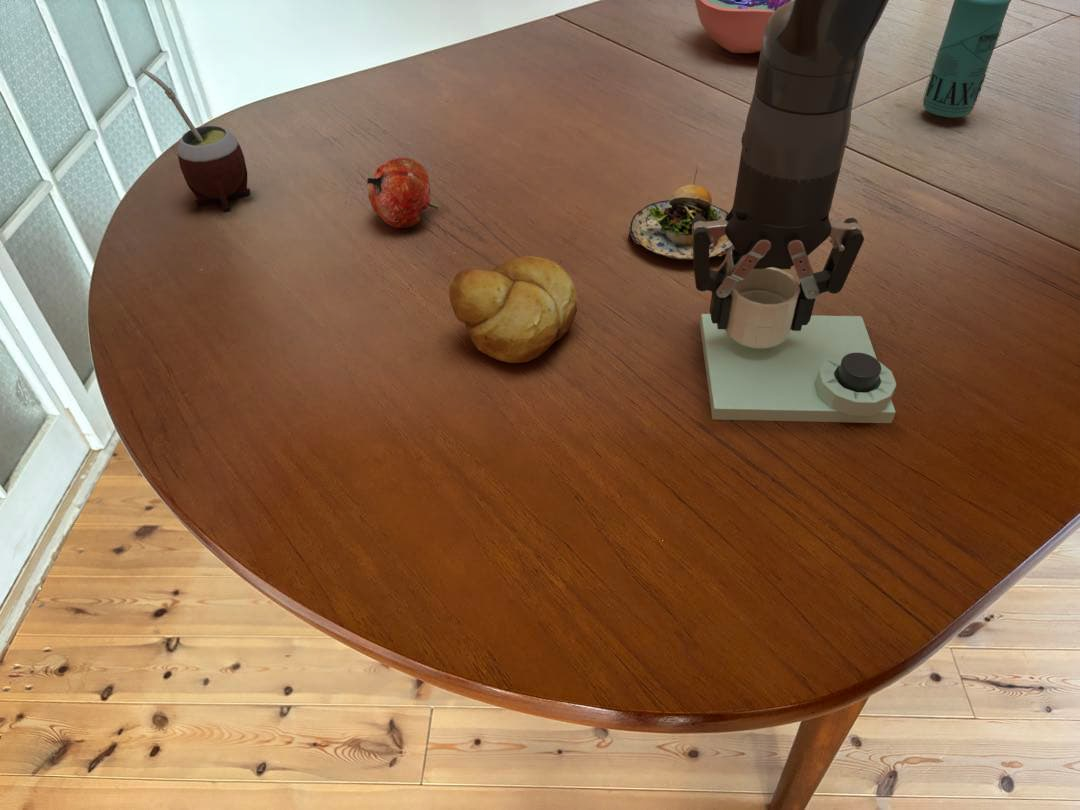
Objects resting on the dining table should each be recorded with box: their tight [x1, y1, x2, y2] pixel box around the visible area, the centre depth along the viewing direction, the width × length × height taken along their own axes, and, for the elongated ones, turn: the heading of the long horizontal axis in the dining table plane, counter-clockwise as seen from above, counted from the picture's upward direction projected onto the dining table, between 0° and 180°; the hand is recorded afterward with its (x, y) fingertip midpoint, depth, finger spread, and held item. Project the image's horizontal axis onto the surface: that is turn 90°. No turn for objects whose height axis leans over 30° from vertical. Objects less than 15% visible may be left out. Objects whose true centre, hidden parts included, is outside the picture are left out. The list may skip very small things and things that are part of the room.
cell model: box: [694, 0, 794, 54], centre depth 126 cm, size 17×20×11 cm
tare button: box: [837, 353, 881, 393], centre depth 72 cm, size 3×3×2 cm
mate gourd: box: [139, 66, 251, 213], centre depth 96 cm, size 8×8×15 cm
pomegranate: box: [366, 157, 439, 229], centre depth 95 cm, size 7×7×10 cm
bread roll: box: [448, 255, 579, 364], centre depth 79 cm, size 13×10×8 cm
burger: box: [627, 168, 732, 261], centre depth 90 cm, size 12×12×8 cm
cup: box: [725, 267, 800, 349], centre depth 76 cm, size 6×6×5 cm
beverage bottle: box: [922, 0, 1012, 118], centre depth 106 cm, size 6×7×20 cm
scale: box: [699, 313, 897, 424], centre depth 76 cm, size 15×14×3 cm
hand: (757, 324), depth 77 cm, fingers closed on cup, 6 cm apart
